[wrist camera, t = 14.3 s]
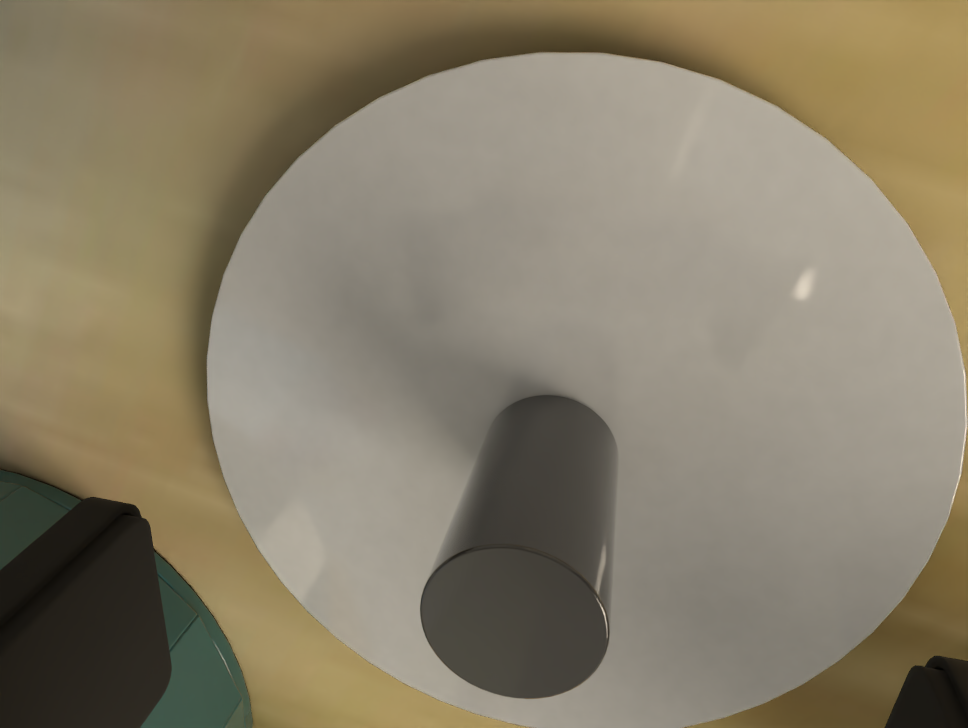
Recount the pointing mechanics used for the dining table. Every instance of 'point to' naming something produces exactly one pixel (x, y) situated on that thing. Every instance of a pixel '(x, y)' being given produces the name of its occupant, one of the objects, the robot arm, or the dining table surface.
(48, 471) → the dining table surface
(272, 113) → the dining table surface
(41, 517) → the canister
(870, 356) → the lid
